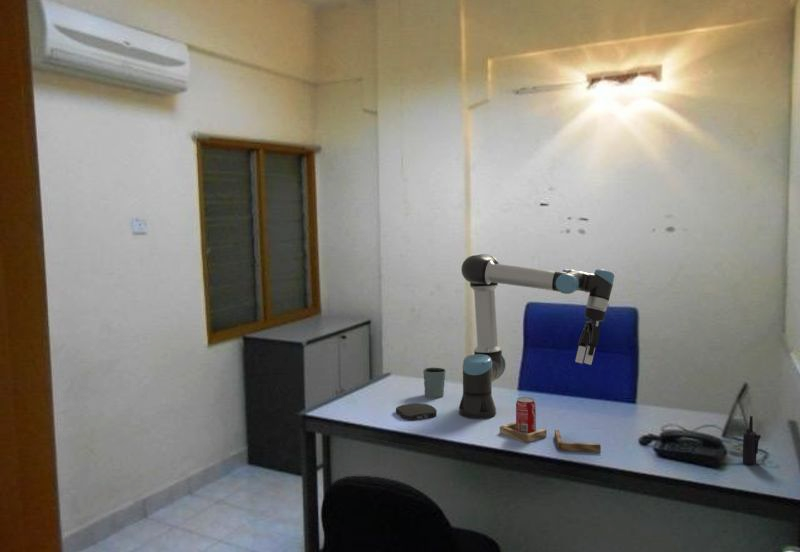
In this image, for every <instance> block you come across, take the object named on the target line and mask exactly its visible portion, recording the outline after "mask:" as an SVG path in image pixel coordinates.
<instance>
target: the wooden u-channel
mask: <svg viewBox="0 0 800 552" xmlns="http://www.w3.org/2000/svg"><path fill="white" fill-rule="evenodd" d="M499 434H501V435H504V436H506V437H509V438H512V439H514V440H516V441H520V442H522V443H525V444H527V443H531V442H534V441H536V440H539V439H543V438H546V437H547V429H545V428H540V429H538V430H536V431H534V432H531V433H528V434H524V433H522V432H519V431H516V421H514V422H510V423H507V424H503V425H500V426H499Z"/></svg>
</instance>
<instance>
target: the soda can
mask: <svg viewBox="0 0 800 552" xmlns="http://www.w3.org/2000/svg"><path fill="white" fill-rule="evenodd" d="M536 408H537V407H536V402H535V399H534V398H533V397H529V396H528V397H527V396H524V397H523V396H521V397H518V398H517V400H516V402H515V422H516V431H519V432H522V433H524V434H528V433H531V432H534V431H537V421H536V419H537V409H536Z"/></svg>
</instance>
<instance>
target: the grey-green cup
mask: <svg viewBox="0 0 800 552" xmlns="http://www.w3.org/2000/svg"><path fill="white" fill-rule="evenodd" d="M446 371H447V370H446V369H445V368H443V367H426V368H424V369H423V370H422V373H423V387H424V396H425V398H429V399H440V398H443V397H444V394H445V393H444V392H445V380H446Z"/></svg>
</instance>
